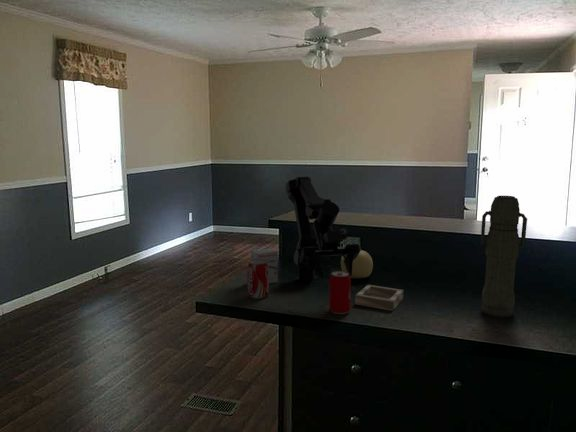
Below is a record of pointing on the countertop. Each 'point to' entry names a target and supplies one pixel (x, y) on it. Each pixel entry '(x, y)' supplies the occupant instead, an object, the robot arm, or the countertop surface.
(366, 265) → the sculpture
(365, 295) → the can holder
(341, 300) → the beverage can
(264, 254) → the ink box
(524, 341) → the countertop surface
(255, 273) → the soda can
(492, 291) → the thermos
